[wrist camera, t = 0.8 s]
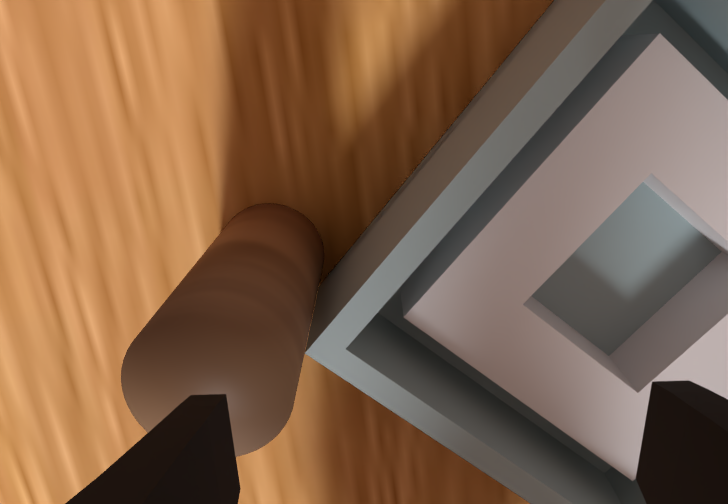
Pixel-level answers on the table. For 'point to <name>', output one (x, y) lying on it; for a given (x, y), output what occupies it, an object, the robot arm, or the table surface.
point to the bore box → (554, 253)
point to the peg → (233, 327)
